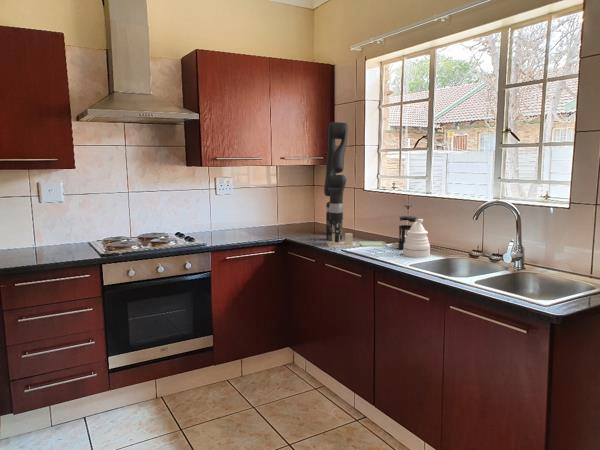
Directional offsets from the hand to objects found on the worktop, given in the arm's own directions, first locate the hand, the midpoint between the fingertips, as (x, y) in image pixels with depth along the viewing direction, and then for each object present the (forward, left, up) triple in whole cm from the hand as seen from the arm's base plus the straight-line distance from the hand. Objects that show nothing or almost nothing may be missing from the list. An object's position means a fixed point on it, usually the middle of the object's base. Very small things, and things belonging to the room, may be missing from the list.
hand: (335, 240), depth 263 cm
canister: (-17, +1, -3) cm, 17 cm away
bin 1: (0, +4, -3) cm, 5 cm away
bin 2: (0, +20, -3) cm, 21 cm away
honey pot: (+28, +37, -3) cm, 46 cm away
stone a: (0, 0, -2) cm, 2 cm away
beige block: (0, +7, -2) cm, 7 cm away
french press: (+11, +37, -3) cm, 39 cm away
